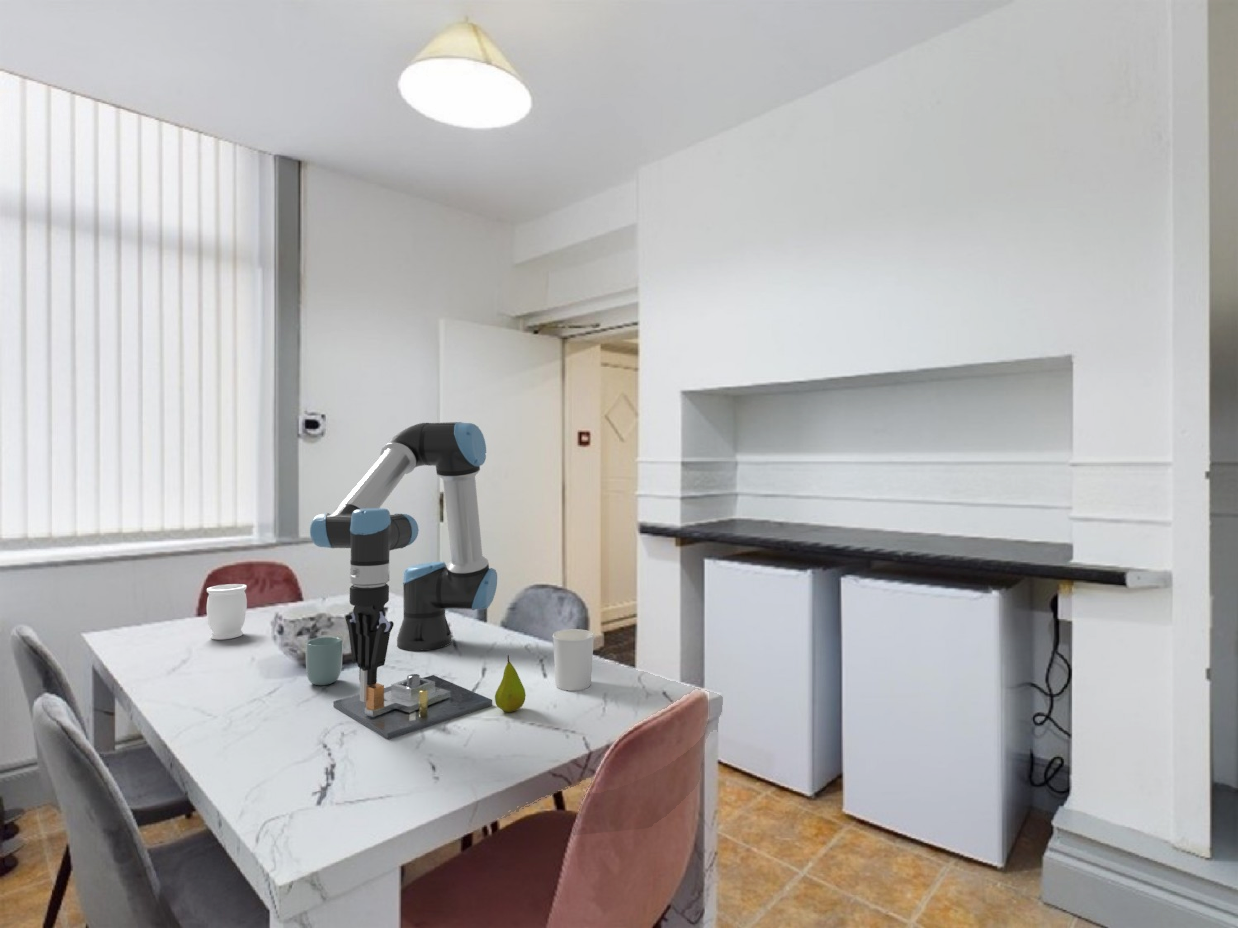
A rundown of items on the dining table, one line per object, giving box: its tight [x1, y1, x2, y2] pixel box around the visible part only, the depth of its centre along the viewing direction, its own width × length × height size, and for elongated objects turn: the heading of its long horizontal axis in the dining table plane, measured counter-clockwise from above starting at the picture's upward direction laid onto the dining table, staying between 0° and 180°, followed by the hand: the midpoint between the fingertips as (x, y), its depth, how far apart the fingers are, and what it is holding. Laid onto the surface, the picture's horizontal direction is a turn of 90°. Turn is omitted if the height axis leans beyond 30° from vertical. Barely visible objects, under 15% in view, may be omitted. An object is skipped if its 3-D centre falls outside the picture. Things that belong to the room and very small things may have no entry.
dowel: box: [419, 690, 427, 717], centre depth 132 cm, size 2×2×5 cm
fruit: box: [494, 655, 526, 713], centre depth 138 cm, size 6×6×12 cm
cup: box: [305, 636, 343, 686], centre depth 155 cm, size 8×8×10 cm
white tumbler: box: [552, 628, 595, 692], centre depth 154 cm, size 10×10×12 cm
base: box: [333, 673, 493, 740], centre depth 141 cm, size 24×24×6 cm
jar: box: [206, 583, 248, 641], centre depth 196 cm, size 11×10×15 cm
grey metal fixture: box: [365, 677, 450, 717], centre depth 138 cm, size 16×11×6 cm, turn 146°
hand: (367, 699), depth 133 cm, fingers closed
